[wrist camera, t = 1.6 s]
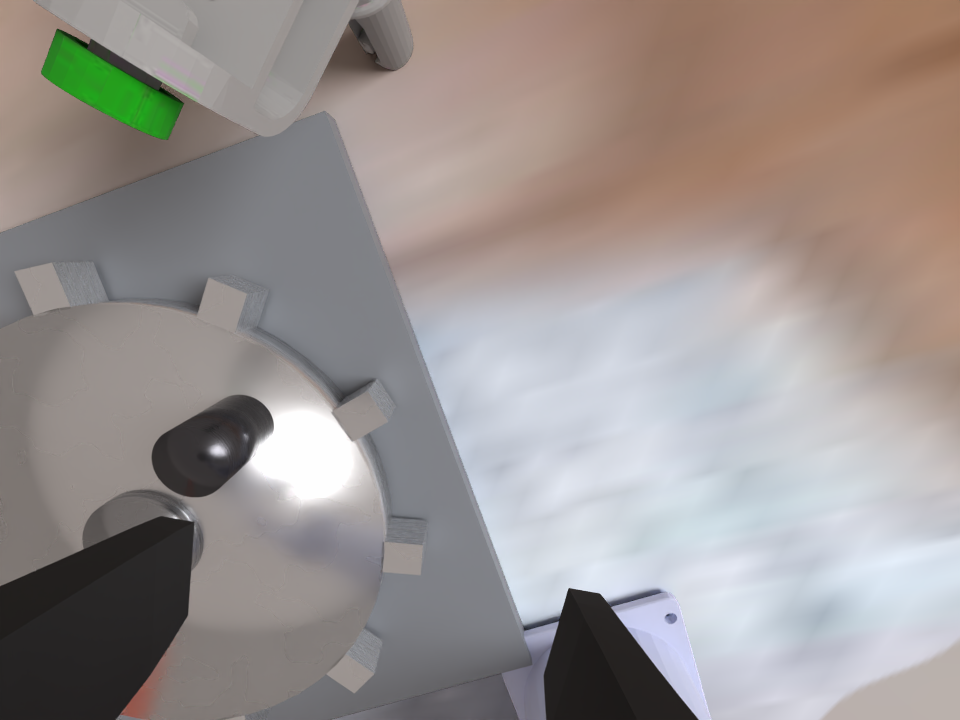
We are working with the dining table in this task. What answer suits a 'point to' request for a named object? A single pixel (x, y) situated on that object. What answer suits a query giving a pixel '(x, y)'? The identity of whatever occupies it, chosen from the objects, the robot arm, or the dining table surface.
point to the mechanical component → (213, 55)
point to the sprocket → (202, 481)
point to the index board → (332, 348)
